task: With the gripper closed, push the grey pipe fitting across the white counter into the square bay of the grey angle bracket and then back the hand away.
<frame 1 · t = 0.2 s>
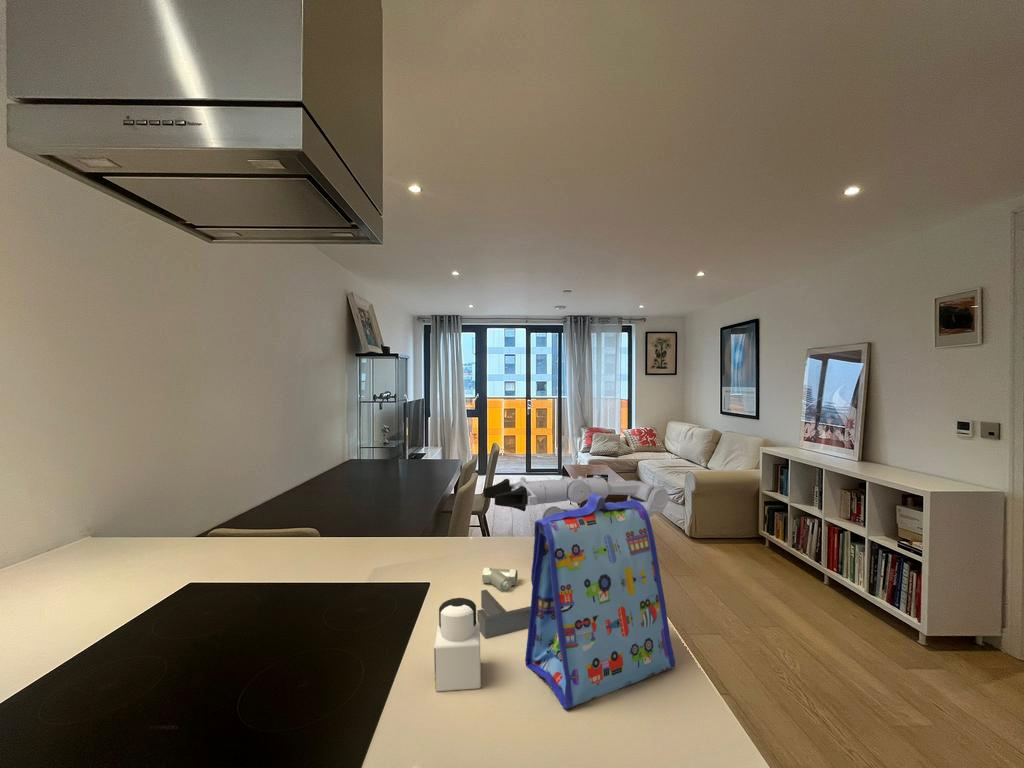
hand: (489, 496, 110), 21 cm above the kitchen island, tool horizontal, fingers open, 7 cm apart
medicine bottle: (458, 678, 75), on the kitchen island
pipe fitting: (498, 588, 109), on the kitchen island
grey angle bracket: (523, 612, 97), on the kitchen island
lunch bag: (599, 669, 77), on the kitchen island
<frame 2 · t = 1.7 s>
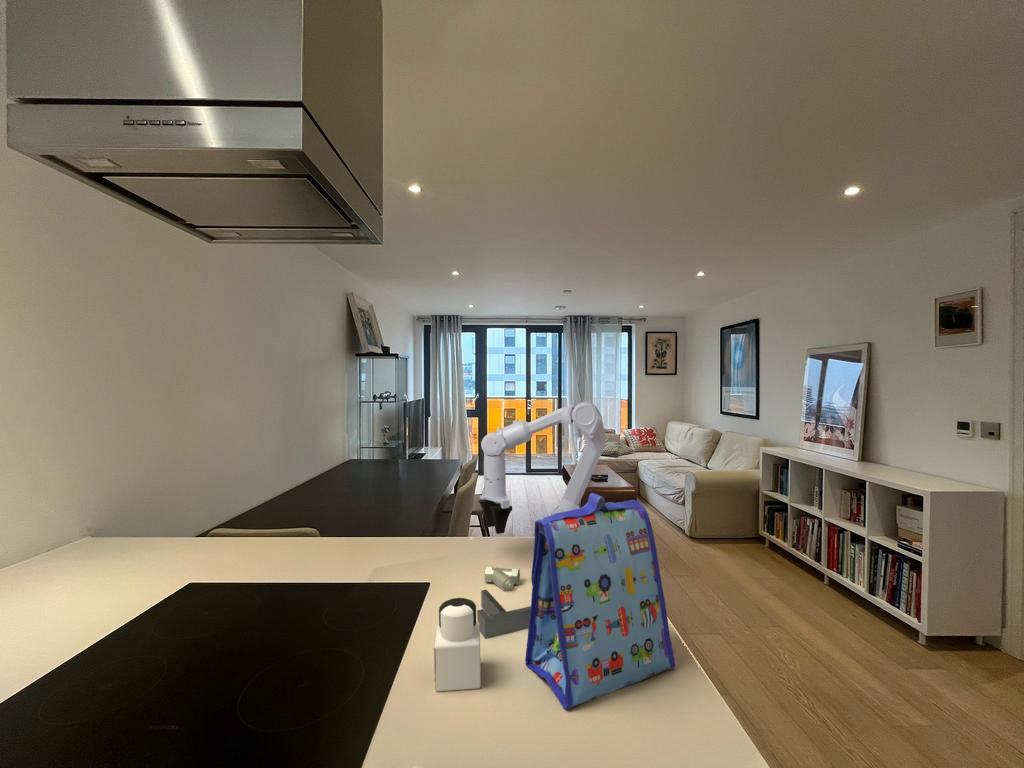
hand: (495, 529, 121), 10 cm above the kitchen island, tool pointing down, fingers open, 6 cm apart
nothing on the kitchen island moved.
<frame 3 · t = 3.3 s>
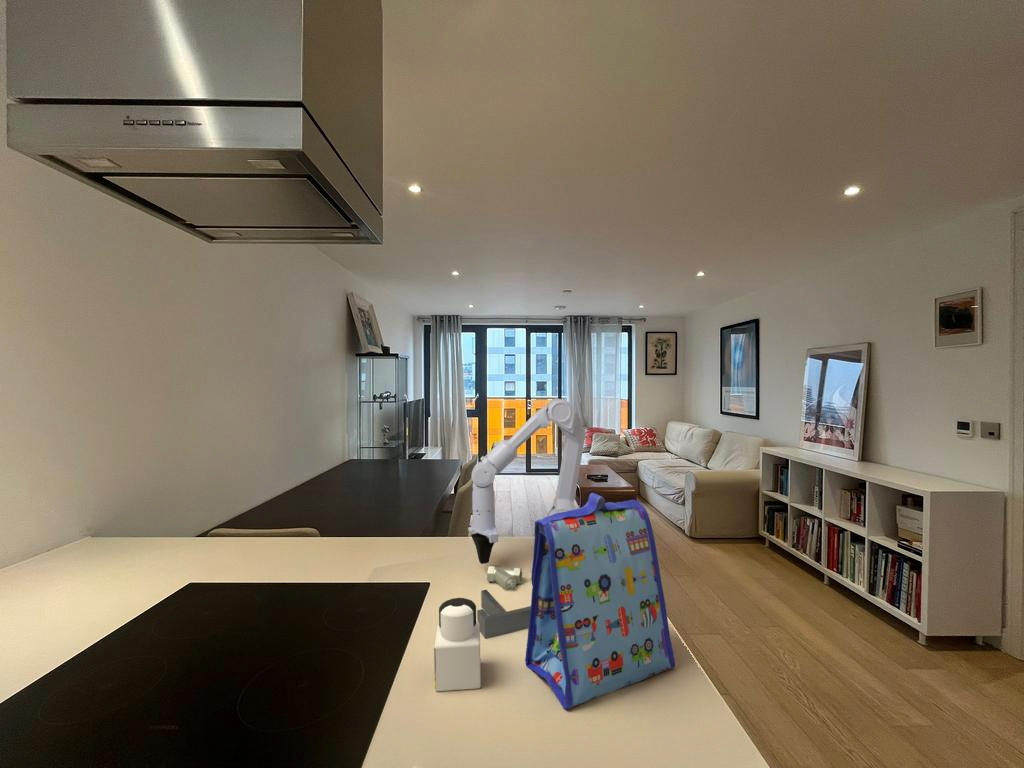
hand: (484, 562, 118), 3 cm above the kitchen island, tool pointing down, fingers closed
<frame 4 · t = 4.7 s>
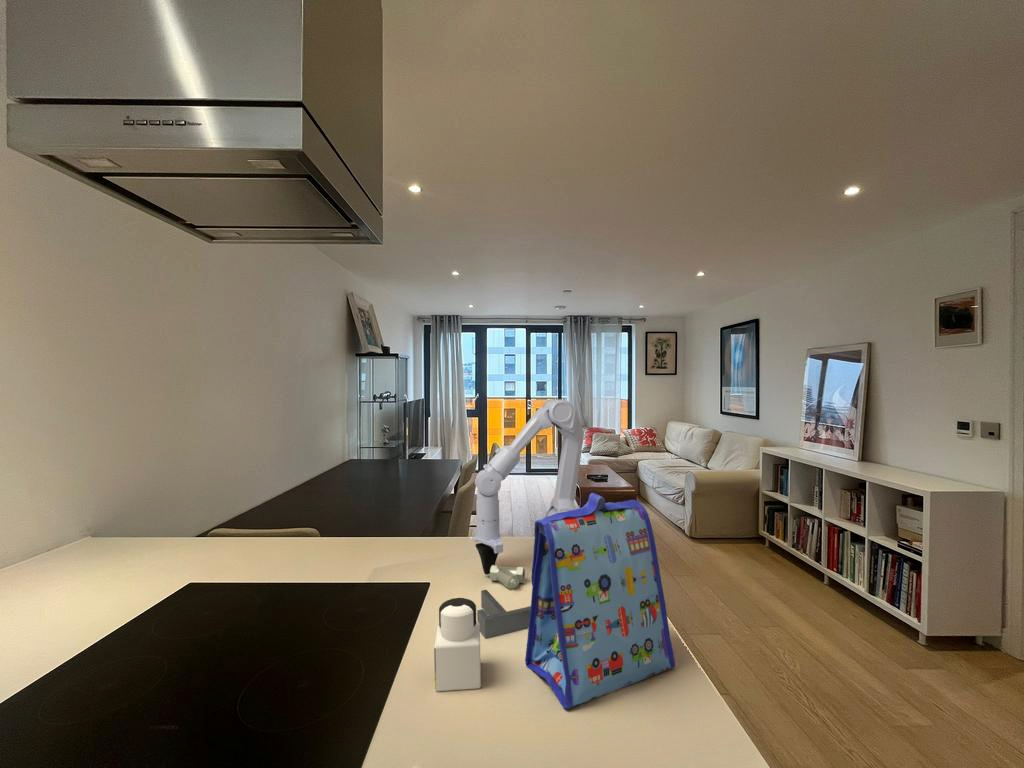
hand: (488, 573, 115), 1 cm above the kitchen island, tool pointing down, fingers closed
pipe fitting: (506, 585, 110), on the kitchen island, touching gripper
everything else where it was.
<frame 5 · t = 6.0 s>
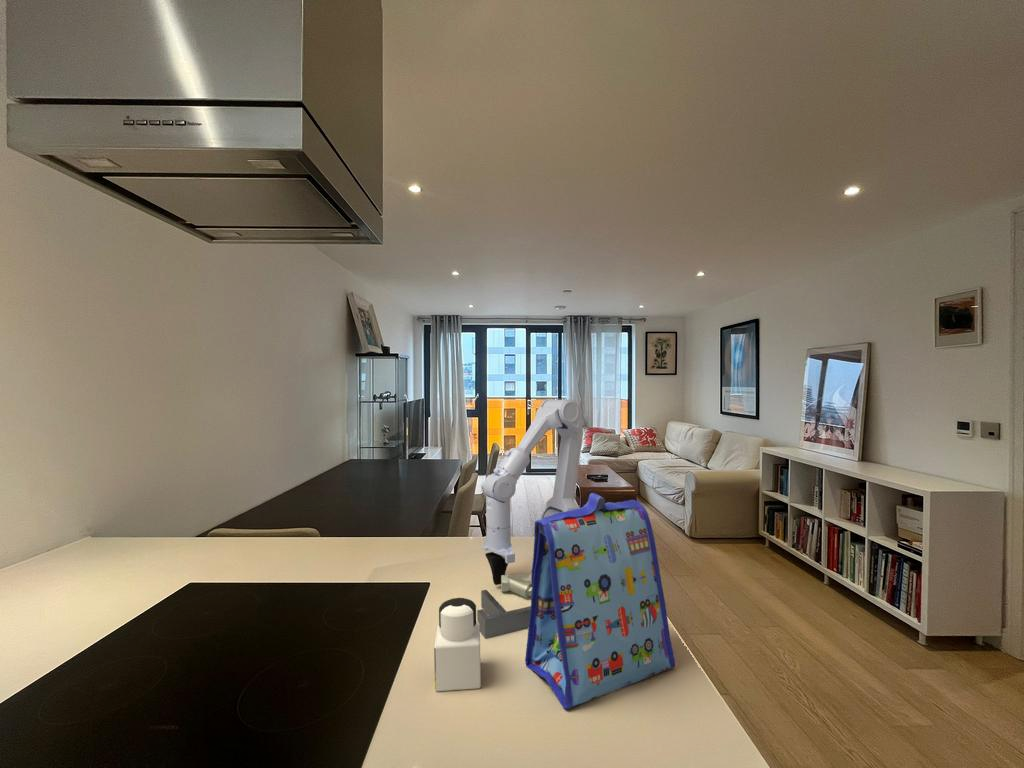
hand: (498, 583, 108), 1 cm above the kitchen island, tool pointing down, fingers closed, pressing on pipe fitting
pipe fitting: (519, 595, 105), on the kitchen island, touching gripper, grey angle bracket
everything else where it was.
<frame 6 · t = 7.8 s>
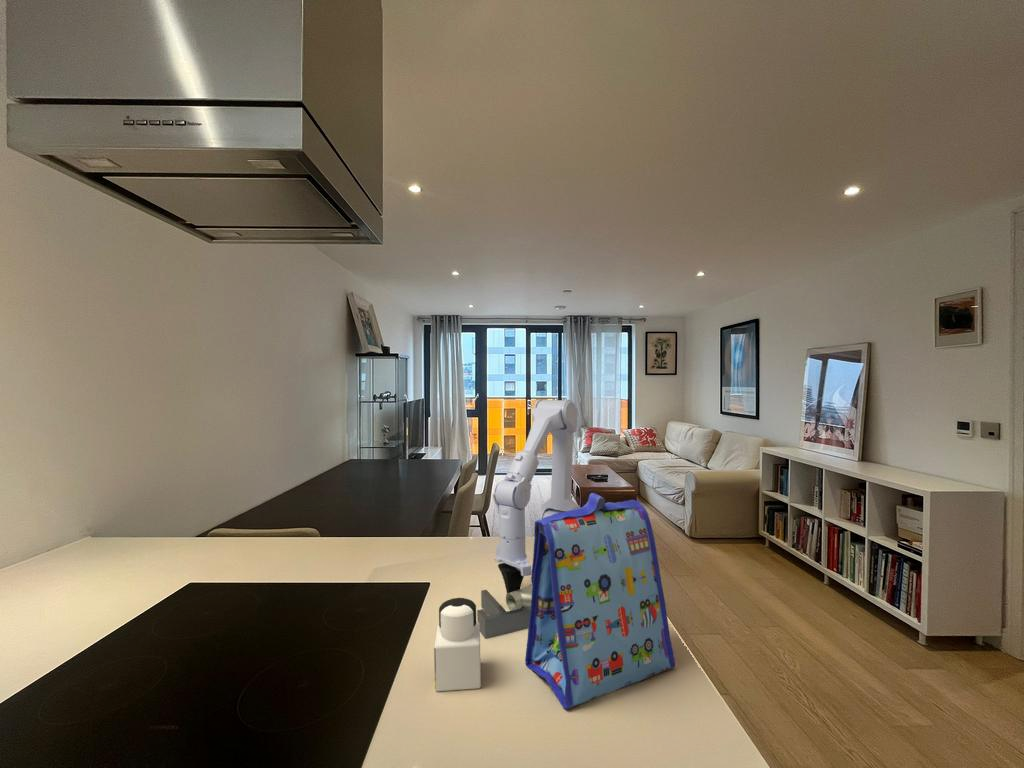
hand: (513, 597, 101), 1 cm above the kitchen island, tool pointing down, fingers closed
pipe fitting: (530, 608, 98), on the kitchen island, touching gripper, grey angle bracket
everything else where it was.
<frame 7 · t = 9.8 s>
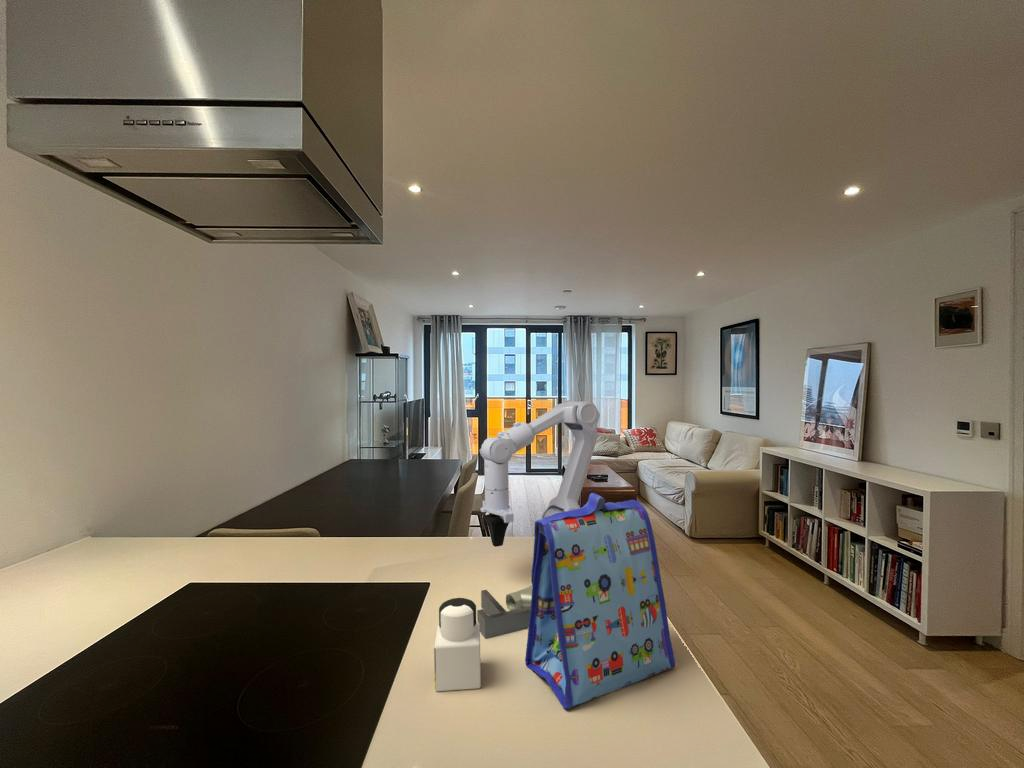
hand: (497, 545, 109), 10 cm above the kitchen island, tool pointing down, fingers closed
pipe fitting: (530, 609, 98), on the kitchen island
everything else where it was.
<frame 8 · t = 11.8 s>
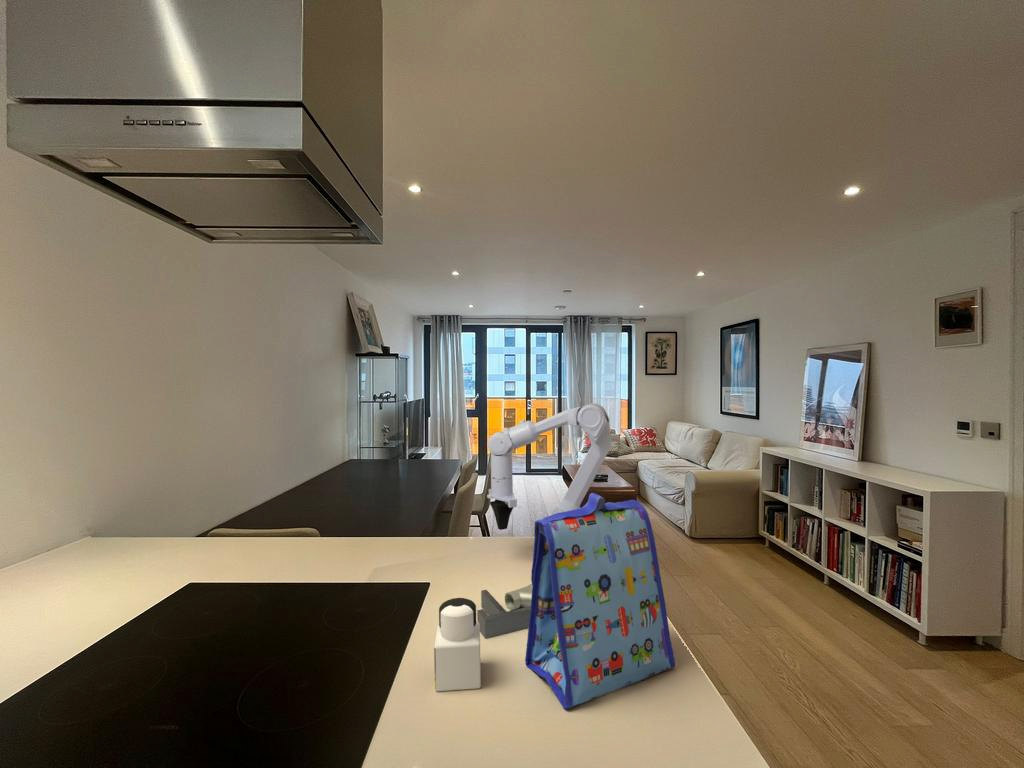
hand: (502, 528, 122), 10 cm above the kitchen island, tool pointing down, fingers closed
nothing on the kitchen island moved.
at the end: pipe fitting inside the target area on the grey angle bracket (2.4 cm from its centre), point -0.5 cm above the grey angle bracket's base; pipe fitting moved 12.5 cm from its start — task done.
